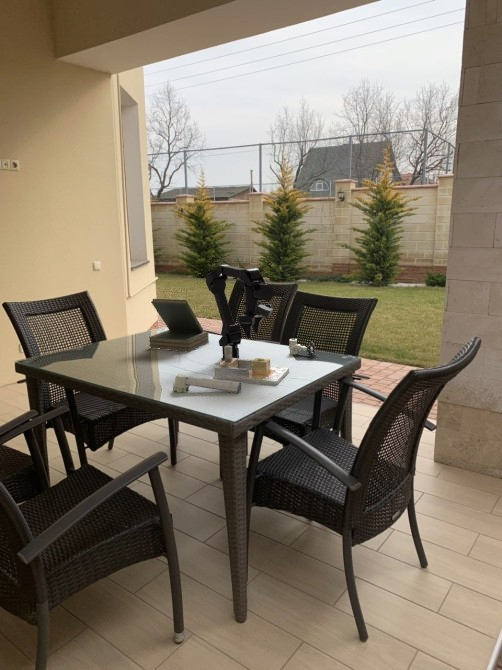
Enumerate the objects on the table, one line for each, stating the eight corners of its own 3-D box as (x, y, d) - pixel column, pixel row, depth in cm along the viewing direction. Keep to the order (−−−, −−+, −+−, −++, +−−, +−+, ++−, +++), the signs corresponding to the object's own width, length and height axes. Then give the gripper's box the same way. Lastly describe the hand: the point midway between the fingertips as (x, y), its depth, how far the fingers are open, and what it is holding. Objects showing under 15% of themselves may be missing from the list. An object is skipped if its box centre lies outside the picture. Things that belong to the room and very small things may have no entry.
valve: (285, 354, 224) (309, 358, 218) (285, 340, 223) (309, 343, 216) (292, 351, 230) (315, 354, 223) (292, 337, 228) (315, 340, 221)
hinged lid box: (208, 343, 252) (206, 295, 246) (189, 352, 234) (186, 301, 229) (171, 340, 261) (168, 294, 255) (149, 349, 243) (145, 299, 238)
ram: (219, 372, 193) (218, 349, 191) (229, 365, 202) (228, 343, 200) (228, 373, 192) (227, 350, 190) (238, 366, 201) (237, 344, 199)
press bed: (212, 379, 190) (212, 368, 189) (229, 367, 207) (229, 356, 206) (276, 385, 182) (276, 373, 181) (289, 371, 198) (289, 360, 197)
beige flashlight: (239, 384, 172) (171, 373, 175) (237, 402, 174) (170, 391, 177) (242, 380, 177) (176, 369, 180) (240, 397, 179) (174, 386, 182)
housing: (252, 373, 191) (251, 360, 190) (256, 369, 196) (255, 357, 195) (266, 374, 189) (266, 361, 188) (270, 370, 194) (270, 358, 193)
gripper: (263, 303, 191) (264, 341, 194) (276, 296, 208) (277, 331, 211) (236, 302, 195) (238, 340, 198) (252, 295, 212) (253, 330, 215)
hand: (252, 335), depth 205 cm, fingers open, 9 cm apart
